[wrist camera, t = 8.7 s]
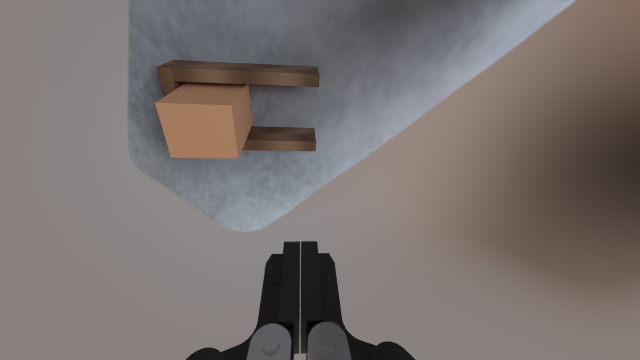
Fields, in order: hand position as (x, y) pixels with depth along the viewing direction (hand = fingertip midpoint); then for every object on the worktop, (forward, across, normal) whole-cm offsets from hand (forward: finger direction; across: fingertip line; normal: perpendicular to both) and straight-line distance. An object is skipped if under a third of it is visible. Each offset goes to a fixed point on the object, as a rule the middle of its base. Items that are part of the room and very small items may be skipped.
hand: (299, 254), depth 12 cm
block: (+23, +9, 0) cm, 24 cm away
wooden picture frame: (+23, +5, 0) cm, 23 cm away
